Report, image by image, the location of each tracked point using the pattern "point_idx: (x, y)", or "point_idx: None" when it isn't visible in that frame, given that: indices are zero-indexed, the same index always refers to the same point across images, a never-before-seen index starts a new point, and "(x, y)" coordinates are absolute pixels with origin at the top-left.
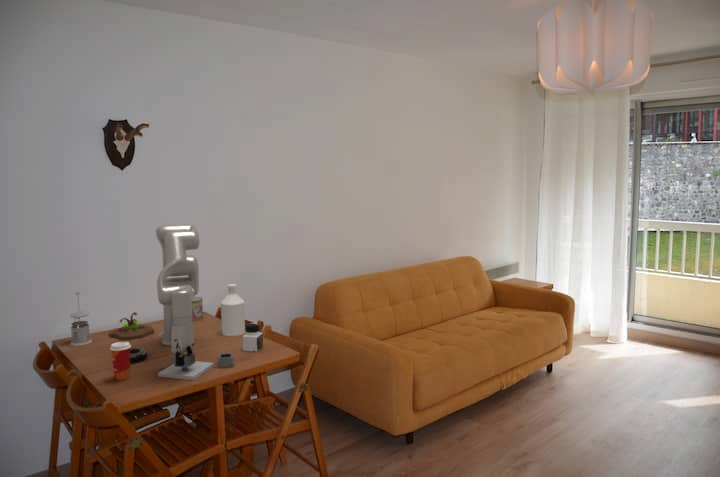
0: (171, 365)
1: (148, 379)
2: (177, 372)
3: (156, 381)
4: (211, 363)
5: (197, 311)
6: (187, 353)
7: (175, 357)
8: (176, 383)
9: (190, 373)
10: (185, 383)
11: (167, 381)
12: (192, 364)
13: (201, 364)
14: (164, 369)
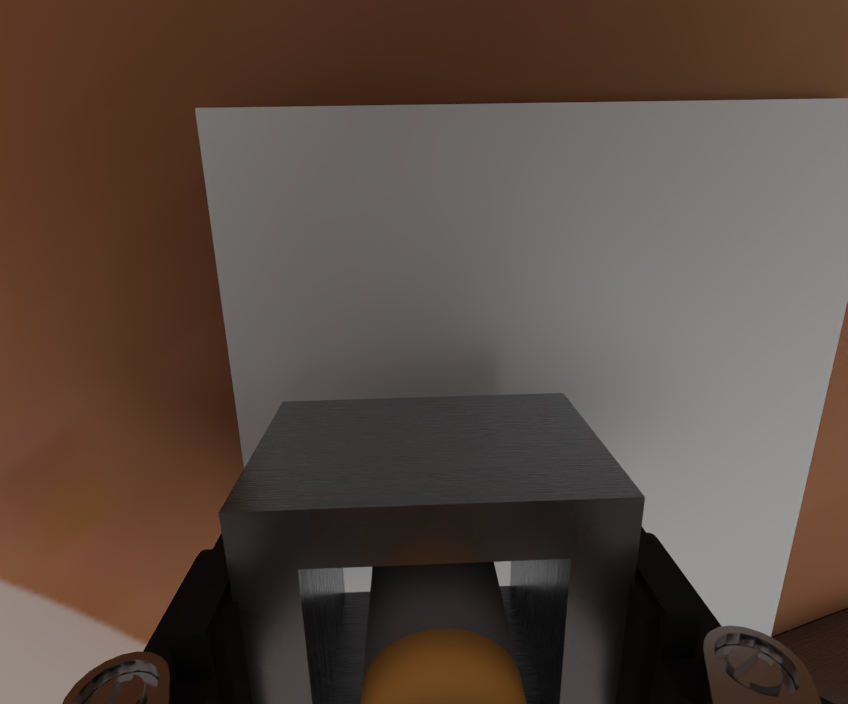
0: (588, 113)
1: (57, 29)
2: None
3: (55, 219)
4: (748, 624)
5: None
6: (569, 672)
7: (233, 559)
8: (125, 508)
9: (352, 582)
10: (171, 595)
11: (127, 368)
12: (682, 424)
13: (697, 535)
14: (378, 113)
